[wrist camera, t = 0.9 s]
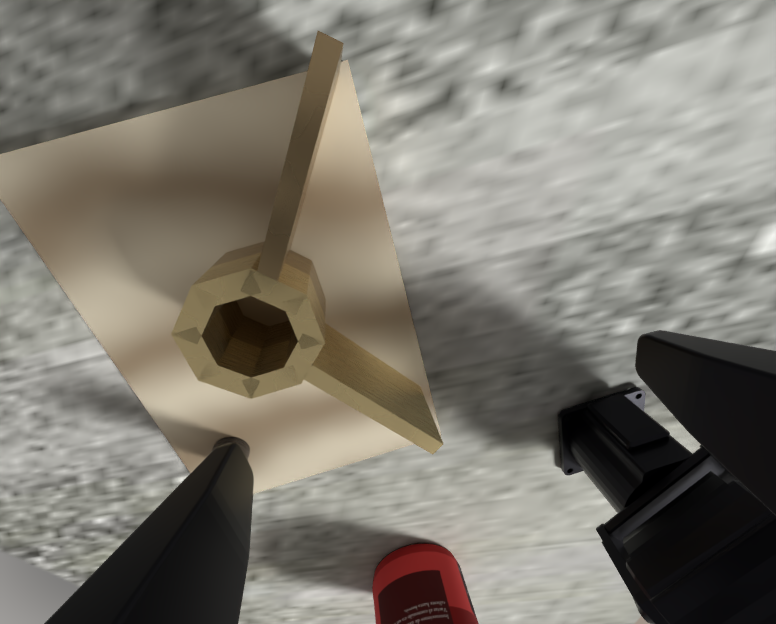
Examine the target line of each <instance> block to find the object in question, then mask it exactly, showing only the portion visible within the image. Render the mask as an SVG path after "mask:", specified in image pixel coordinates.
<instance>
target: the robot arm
mask: <svg viewBox="0 0 776 624" xmlns="http://www.w3.org/2000/svg"><path fill="white" fill-rule="evenodd" d="M635 367H636V371H637V373H638V375H639V376H640V378H641V379H642V380H643V381H644V382H645V383H646V385H647V386H648V387H649V388H650V389H651V390H652V391H653V393H654V394H655V395H656V396H657V397H658V398H659V399H660V401H661V402H662V403H663V404H664V405H665V406H666V407H667V408H668V410H669V411H670V412H671V413H672V414H673V415H674V416H675V418H676V419H677V420H678V421H679V422H680V423H681V424H682V425H683V427H684V428H685V429H686V430H687V431H688V432H689V433H690V434H691V435H692V436H693V437H694V438H695V439H696V440H697V441H698V442H699V443H700V444H701V445H700V447H701V448H700V449H698V450H697V451H696V452H695V453H693V454H692V453H691V452H690V451H689V450H687V449H686V448H685V447H684V446H682V445H681V444H680V443H679V442H678V441H676V440H675V439H674V438H673V437H672V436H670V433H669V431H667V430H666V429H665V428H664V427H663V426H661V425H660V424H659V423H658V422H656V421H655V420H654V419H653V418H651V417H650V416H649V415H648V414H647V413H645V412H644V404H645V392H644V391H643V390H642V389H640V388H638V387H636V388H632V389H629V390H626V391H623V392H619V393H616V394H613V395H610V396H606V397H603V398H600V399H597V400H594V401H590V402H587V403H584V404H581V405H578V406H574V407H571V408H568V409H565V410H563V411H561V412H560V413H559V415H558V422H559V438H560V455H561V469H562V471H563V472H564V474H565V475H572V474H575V473H578V472H581V471H584V472H585V473H586V474H587V476H588V477H589V478H590V479H591V481H592V482H593V483H594V484H595V486H596V487H597V488H598V489H599V491H600V492H601V493H602V494H603V495H604V497H605V498H606V499H607V500H608V502H609V503H610V504H611V505H612V507H613V508H614V509H615V510H616V512H617V513H618V514H616V515H615V516H614V517H613V518H611V519H610V520H609V521H608V522H606V523H605V524H601V525H600V526H598V527H597V528H596V530H597V532H598V534H599V535H600V537H601V539H602V544H603V546H604V547H605V549H606V551H607V553H608V554H609V556H610V558H611V560H612V561H613V563H614V565H615V567H616V568H617V570H618V572H619V574H620V575H621V577H622V579H623V581H624V582H625V584H626V586H627V588H628V589H629V591H630V593H631V595H632V596H633V599H634V601H635V604H636V606H637V608H638V611H639V613H640V614H641V616H642V617H643V618H644V619H645V620H646V621H647V622H648V623H650V624H776V351H772V350H767V349H761V348H756V347H750V346H745V345H739V344H734V343H728V342H723V341H717V340H712V339H706V338H701V337H695V336H690V335H684V334H679V333H673V332H668V331H662V330H659V331H654V332H650V333H646V334H643V335H641V336H640V337H639V339H638V343H637V353H636V363H635ZM253 486H254V476H253V471H252V468H251V466H250V464H249V462H248V460H247V458H246V456H245V454H244V452H243V451H242V449H241V447H240V445H239V444H238V443H230V444H226V445H222V446H219V447H216V448H215V449H214V450H213V451H212V452H211V453H210V454H209V455H208V456H207V457H206V458H205V459H204V460H203V461H202V462H201V463H200V464H199V465H198V466H197V467H196V468H195V469H194V470H193V471H192V473H191V474H190V475H189V476H188V477H187V478H186V479H185V480H184V481H183V482H182V483H181V484H180V485H179V486H178V487H177V488H176V489H175V490H174V491H173V492H172V493H171V494H170V495H169V496H168V497H167V498H166V499H165V500H164V501H163V502H162V503H161V504H160V505H159V506H158V507H157V509H156V510H155V511H154V512H153V513H152V514H151V515H150V516H149V517H148V518H147V519H146V520H145V521H144V522H143V523H142V524H141V525H140V526H139V527H138V528H137V529H136V530H135V531H134V532H133V533H132V534H131V535H130V536H129V537H128V538H127V539H126V540H125V541H124V542H123V543H122V544H121V545H120V546H119V548H118V549H117V550H116V551H115V552H114V553H113V554H112V555H111V556H110V557H109V558H108V559H107V560H106V561H105V562H104V563H103V564H102V565H101V566H100V567H99V568H98V569H97V570H96V571H95V572H94V573H93V574H92V575H91V576H90V577H89V578H88V579H87V580H86V581H85V582H84V583H83V584H82V586H81V587H80V588H79V589H78V590H77V591H76V592H75V593H74V594H73V595H72V596H71V597H70V598H69V599H68V600H67V601H66V602H65V603H64V604H63V605H62V606H61V607H60V608H59V609H58V610H57V611H56V612H55V613H54V614H53V615H52V617H50V618H49V619H48V620H47V621H46V622H45V624H238V621H239V615H240V609H241V602H242V596H243V590H244V584H245V578H246V572H247V566H248V559H249V549H250V536H251V519H252V503H253Z"/></svg>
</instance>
